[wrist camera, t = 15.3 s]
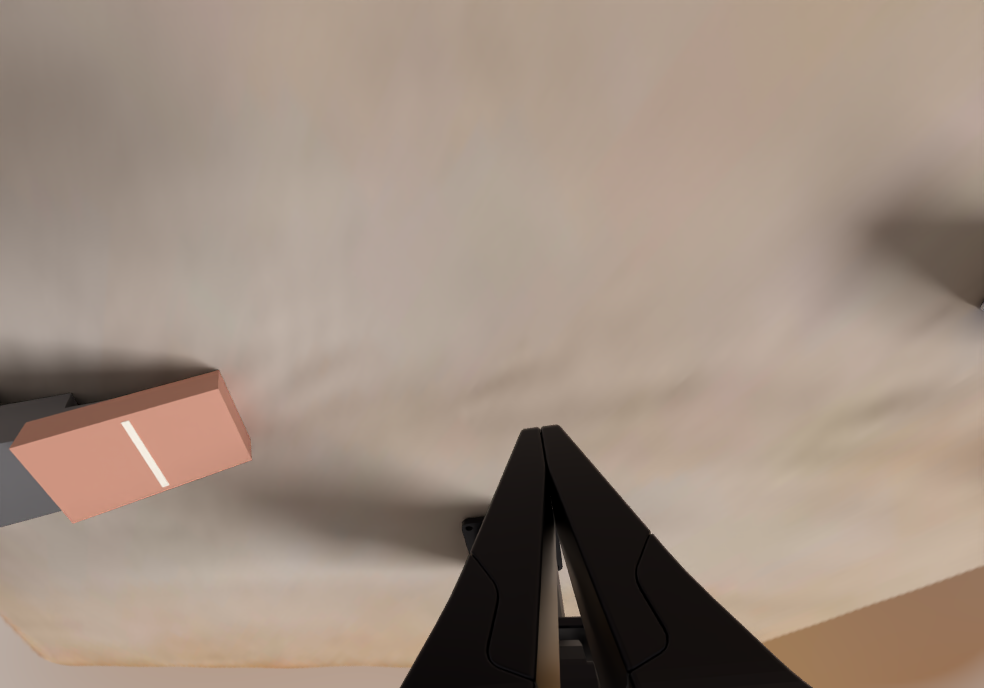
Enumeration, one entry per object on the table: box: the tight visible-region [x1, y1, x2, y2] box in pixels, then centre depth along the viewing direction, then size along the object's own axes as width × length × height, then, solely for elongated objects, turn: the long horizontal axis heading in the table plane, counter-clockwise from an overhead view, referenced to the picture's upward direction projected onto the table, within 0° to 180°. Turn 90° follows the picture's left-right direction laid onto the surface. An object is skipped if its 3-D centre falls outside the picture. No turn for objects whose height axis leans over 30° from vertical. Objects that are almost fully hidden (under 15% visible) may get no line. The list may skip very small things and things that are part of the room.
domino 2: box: [0, 400, 107, 527], centre depth 22 cm, size 5×2×8 cm
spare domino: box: [9, 370, 252, 523], centre depth 22 cm, size 5×2×8 cm
